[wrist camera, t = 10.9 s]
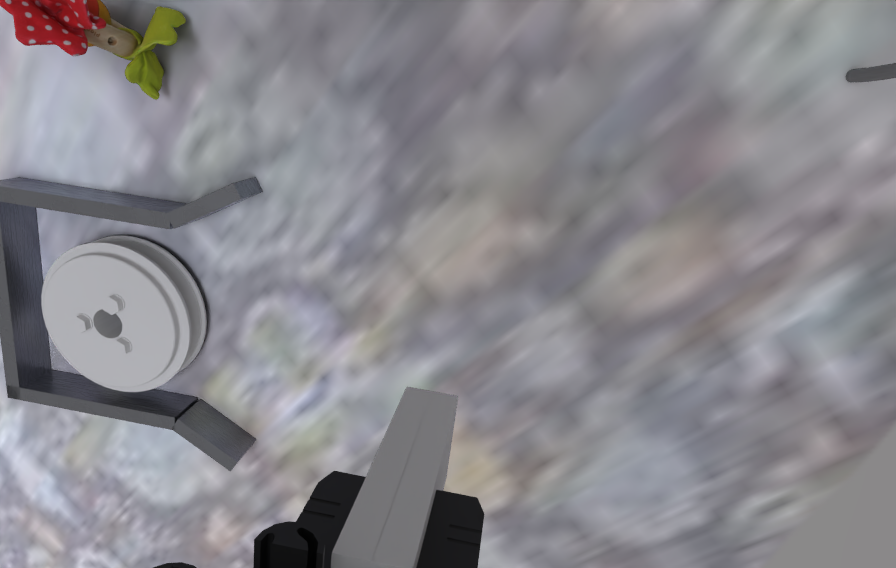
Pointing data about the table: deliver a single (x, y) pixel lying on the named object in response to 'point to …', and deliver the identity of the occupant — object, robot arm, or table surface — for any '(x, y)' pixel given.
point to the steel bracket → (25, 334)
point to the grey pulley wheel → (123, 312)
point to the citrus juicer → (872, 73)
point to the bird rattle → (96, 34)
